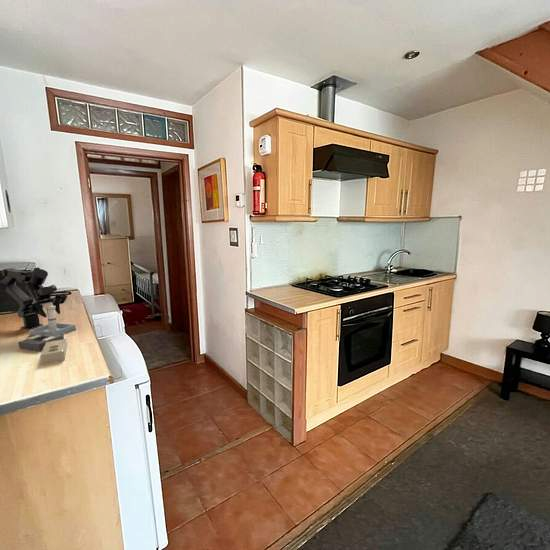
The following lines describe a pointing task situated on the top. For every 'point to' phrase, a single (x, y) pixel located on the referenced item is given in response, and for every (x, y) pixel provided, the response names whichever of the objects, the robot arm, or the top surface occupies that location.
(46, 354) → the electrical outlet
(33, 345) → the socket block
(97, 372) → the top surface
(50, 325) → the light bulb
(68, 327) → the parts tray
